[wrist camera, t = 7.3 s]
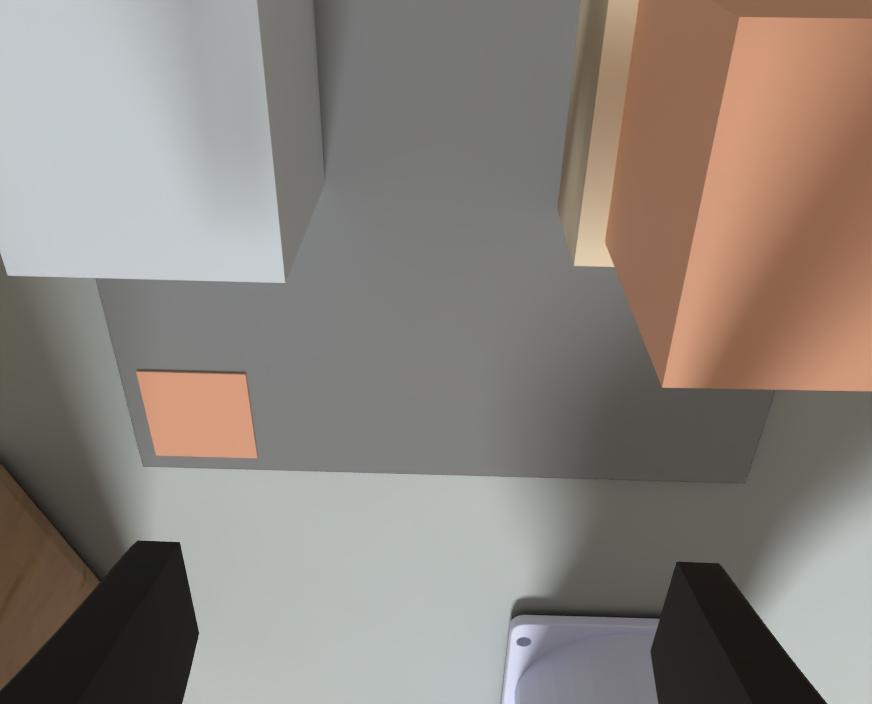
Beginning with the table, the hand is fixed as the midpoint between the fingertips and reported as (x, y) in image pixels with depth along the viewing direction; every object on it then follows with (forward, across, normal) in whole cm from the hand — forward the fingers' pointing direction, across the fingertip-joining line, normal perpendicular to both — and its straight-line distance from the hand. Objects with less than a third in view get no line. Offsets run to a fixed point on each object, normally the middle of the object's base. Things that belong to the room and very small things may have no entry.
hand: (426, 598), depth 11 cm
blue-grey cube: (+10, +5, -5) cm, 12 cm away
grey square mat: (+10, 0, -2) cm, 10 cm away
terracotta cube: (+7, -6, -5) cm, 10 cm away
